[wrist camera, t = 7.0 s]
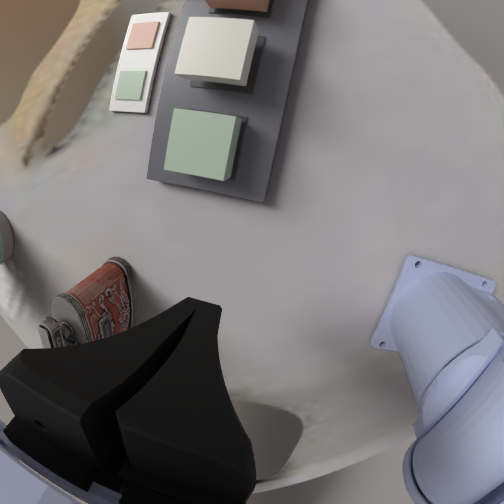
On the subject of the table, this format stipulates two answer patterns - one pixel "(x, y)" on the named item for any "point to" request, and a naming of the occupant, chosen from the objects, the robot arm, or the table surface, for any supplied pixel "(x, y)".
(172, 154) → the key sage
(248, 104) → the dark grey base plate
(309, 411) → the table surface
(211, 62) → the key ivory
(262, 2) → the key terracotta
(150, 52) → the card
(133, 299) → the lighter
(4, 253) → the coffee cup
